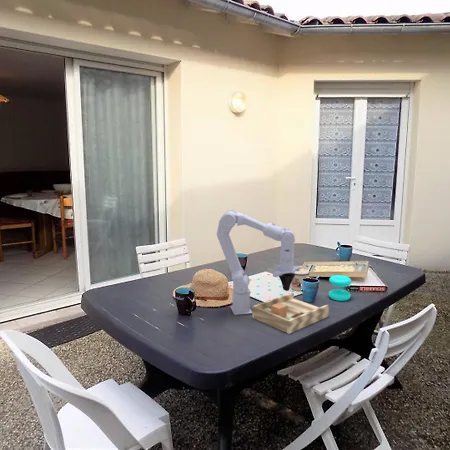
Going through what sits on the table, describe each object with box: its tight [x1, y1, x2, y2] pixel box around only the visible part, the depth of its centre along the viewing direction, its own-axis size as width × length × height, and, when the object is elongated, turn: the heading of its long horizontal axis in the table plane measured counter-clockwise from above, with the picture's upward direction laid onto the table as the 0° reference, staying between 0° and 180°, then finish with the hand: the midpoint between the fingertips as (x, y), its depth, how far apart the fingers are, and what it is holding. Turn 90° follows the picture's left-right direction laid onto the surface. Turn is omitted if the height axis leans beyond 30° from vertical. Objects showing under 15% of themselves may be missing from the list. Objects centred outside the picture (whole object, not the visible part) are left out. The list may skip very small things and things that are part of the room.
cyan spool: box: [328, 274, 352, 302], centre depth 184 cm, size 10×10×10 cm
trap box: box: [251, 292, 330, 335], centre depth 162 cm, size 25×20×5 cm
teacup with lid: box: [290, 265, 310, 292], centre depth 196 cm, size 12×9×12 cm
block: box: [271, 303, 287, 318], centre depth 157 cm, size 4×4×4 cm
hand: (286, 290), depth 165 cm, fingers closed
